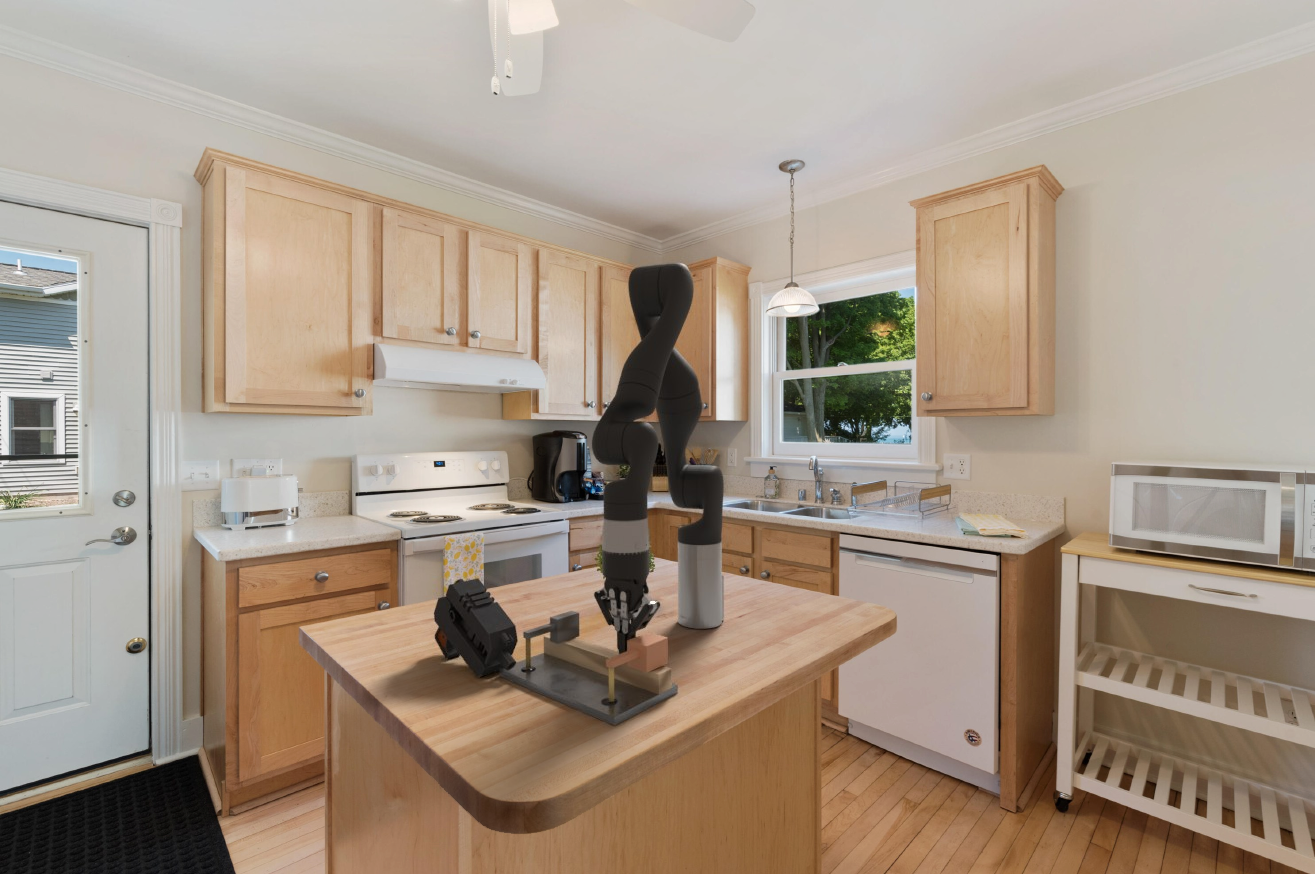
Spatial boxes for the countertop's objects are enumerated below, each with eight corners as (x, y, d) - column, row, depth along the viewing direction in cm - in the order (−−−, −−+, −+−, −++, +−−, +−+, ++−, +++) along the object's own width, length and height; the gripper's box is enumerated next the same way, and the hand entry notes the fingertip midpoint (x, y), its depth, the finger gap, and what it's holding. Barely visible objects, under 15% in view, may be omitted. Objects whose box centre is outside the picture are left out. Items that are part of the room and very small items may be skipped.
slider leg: (648, 674, 100) (648, 632, 99) (668, 681, 97) (667, 637, 97) (599, 697, 91) (599, 651, 91) (619, 705, 89) (618, 657, 89)
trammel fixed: (561, 646, 114) (560, 607, 113) (675, 685, 96) (675, 639, 96) (511, 664, 105) (510, 622, 105) (626, 710, 88) (626, 660, 88)
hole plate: (563, 652, 114) (563, 645, 114) (677, 692, 96) (677, 684, 96) (498, 675, 103) (498, 668, 103) (614, 725, 86) (614, 716, 86)
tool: (452, 630, 118) (474, 568, 113) (506, 705, 107) (534, 639, 102) (422, 639, 113) (444, 574, 108) (476, 718, 103) (503, 650, 98)
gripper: (672, 547, 98) (673, 657, 98) (612, 538, 106) (613, 638, 106) (640, 555, 92) (641, 671, 92) (580, 544, 100) (580, 651, 101)
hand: (626, 653), depth 99 cm, fingers closed
